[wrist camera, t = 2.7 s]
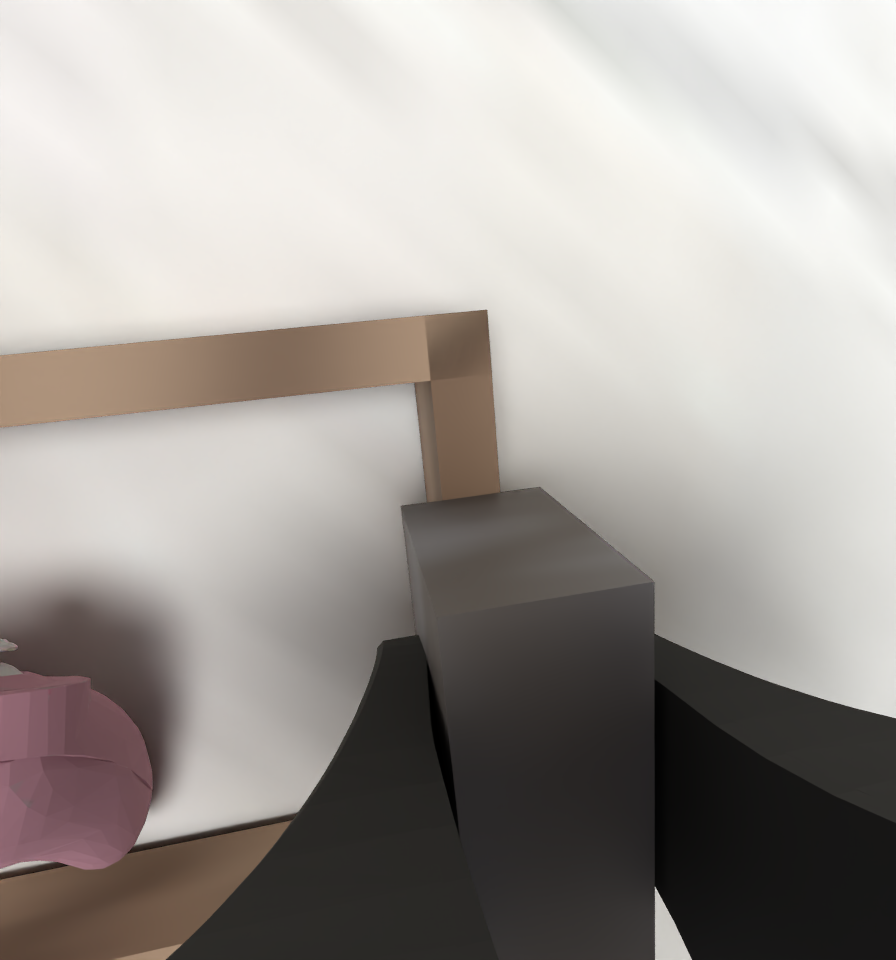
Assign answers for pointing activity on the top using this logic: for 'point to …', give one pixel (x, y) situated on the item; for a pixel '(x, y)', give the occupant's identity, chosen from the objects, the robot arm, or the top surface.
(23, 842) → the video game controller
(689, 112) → the top surface
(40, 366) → the sliding frame
